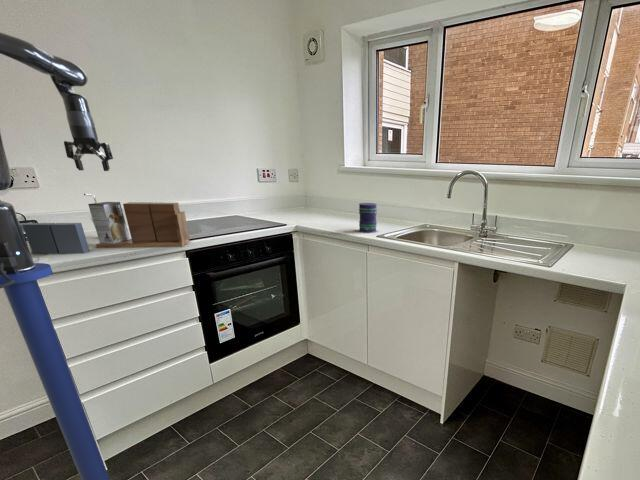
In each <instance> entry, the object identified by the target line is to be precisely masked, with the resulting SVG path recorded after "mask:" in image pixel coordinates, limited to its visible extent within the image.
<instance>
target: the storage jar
mask: <svg viewBox="0 0 640 480" xmlns="http://www.w3.org/2000/svg"><path fill="white" fill-rule="evenodd" d="M377 211H378V209H377V203H373V202H360V203H358V214H359V221H358V223H359V224H358V227H359V229H358V230H359V232H361V233H376V232H377V225H378V223H377V214H378V213H377Z"/></svg>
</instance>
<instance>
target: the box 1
mask: <svg viewBox="0 0 640 480" xmlns="http://www.w3.org/2000/svg"><path fill="white" fill-rule="evenodd" d="M151 203H155V202H151V201H149V202H145V201H143V202H141V201H139V202H138V201H136V202H135V201H133V202H132V201H129V202H125V203H122V207H123V211H124V214H125V215H124V216H125V220H126V222H127V223H126V224H127V228H128V230H129V231H128V232H129V236H130V239H132V242H157V237H156V232H155V228H154V223H153V219H152V214H151V210H150V205H149V204H151Z"/></svg>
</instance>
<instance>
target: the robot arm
mask: <svg viewBox="0 0 640 480" xmlns="http://www.w3.org/2000/svg"><path fill="white" fill-rule="evenodd" d="M0 54H1V55H2V56H5V57H7V58H10V59H12V60H14V61H17V62H19V63H21V64H23V65H24V66H27V67H29V68H31V69H33V70H35V71H37V72H39V73H41V74H44V75H47V76H49V77H50V79H51V81H52V83H53V85H54V87H55V88H56V90H57V92H58V94H59V95H60V97H61V99H62V103H63V106H64V109H65V114H66V120H67V124H68V128H69V130H70V135H71V137H72V139H73V141H69V140H64V141H63V146H64V150H65V154H66V158H68V159H72V160H73V161H74V163H75V168H76V169H77V170H78V171H84V170H85V168H84V164H83V161H82V157H83V156H84V155H95V156H97V157H98V158H99V159H100V160H101V165H102V169H103V171H104V172H109V171H110V164H109V161H110V160H113V159H114V156H113V154H112V151H111V146H110V144H109V143H108V142H100V141H99V138H98V133H97V130H96V125H95V121H94V119H93V117H92V114H91V109H90V106H89V102H88V99H87V97H86V96H84V95H83V94H80V93H76V91H75V90H74V88H73V87H75V88H76V87H77V88H78V87H80V88H81V87H84V86H86V85H87V84H88V83H89V82H88V80H89V79H88V76H87V75H88V74H86V72H85V70H84V69H83V68H81V66H79V65H78V64H76V63H74V62H72V61H69V60H67V59H64V58H62V57H60V56H56V55H54V54H51V53H49V52H48V51H45V50H44V49H42V48H40V47H39V46H37V45H35V44H33V43H31V42H29V41H27V40H24V39H21V38H20V37H16V36H13V35H11V34H7V33H4V32H1V31H0ZM2 137H3V136H2V131H1V129H0V191H6V190H8V189H9V188H10V186H11V184H12V174H11V173H12V172H11V169H10V166H9V165H10V164H9V160H8V157H7V154H6V150H5V145H4V141H3V138H2ZM74 147H75V148H76V149H75V151H74ZM100 148H101V149H103V151H104V153H103V152H102V151H101V150H100ZM27 242H28V241H27V239H26V237H25V235H24V230H23V228H22V226H21V224H20V220H19V217H18V214H17V212H16V209H15V206H14V205H13V204H11V203H10V202H7V201H5V200H0V274H1V275H2V276H3V277H4V278H5V279H6V280H7V281H9V282H7V283H5V284H1V285H0V289H4V288H3V287H7V286H9V285H11V284H13V283H14V282H15V280H13V279H10V278H9V277H8V276H7V275H6V274H16V273H19V272H25V271H29V270H32V269H34V268H36V266H35V264H34V263H35V261H34V260H33V259H34V258H33V256H32V252H31V251H30V248H29V246H28V243H27Z"/></svg>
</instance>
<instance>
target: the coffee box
mask: <svg viewBox="0 0 640 480" xmlns="http://www.w3.org/2000/svg"><path fill="white" fill-rule="evenodd" d="M87 205H88V208H89V211H90V212H91V215H92V218H93V222H94V224H93V226H94V225H95V226H94V229H95V228H96V229H95V231H96V235H97V238H98V241H99V242H98V243H108V244H115V243H118V242H122V241H125V240H129V239H131V237H130V233H129V231H128V230H129V229H128V225H127V223H126V222H127V221H126V218H125V215H124V212H123V211H124V210H123V208H122V204H121V202H120V201H101V202H97V203H95V202H93V203H88V204H87ZM93 222H92V223H93Z"/></svg>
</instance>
